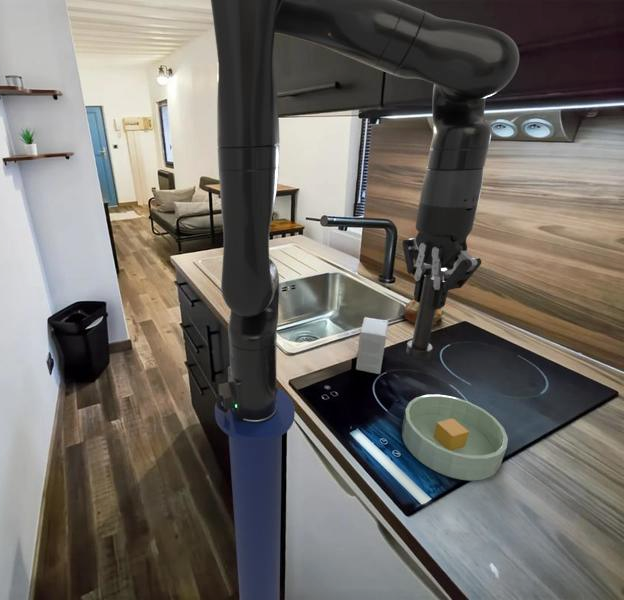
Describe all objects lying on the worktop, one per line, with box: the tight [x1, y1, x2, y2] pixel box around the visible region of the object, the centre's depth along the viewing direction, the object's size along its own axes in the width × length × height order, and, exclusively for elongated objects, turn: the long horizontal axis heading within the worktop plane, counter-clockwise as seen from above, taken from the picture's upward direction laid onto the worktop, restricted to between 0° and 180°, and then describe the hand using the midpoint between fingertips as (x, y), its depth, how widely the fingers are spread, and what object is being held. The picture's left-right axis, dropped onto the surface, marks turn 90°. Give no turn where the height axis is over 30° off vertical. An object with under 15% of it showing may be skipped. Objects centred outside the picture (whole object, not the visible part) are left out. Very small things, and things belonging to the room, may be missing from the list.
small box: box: [355, 316, 389, 375], centre depth 87 cm, size 8×6×10 cm
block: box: [434, 418, 469, 451], centre depth 65 cm, size 4×4×4 cm
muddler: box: [405, 274, 436, 360], centre depth 62 cm, size 4×4×14 cm
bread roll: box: [403, 299, 445, 326], centre depth 107 cm, size 10×10×8 cm
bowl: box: [401, 394, 509, 482], centre depth 65 cm, size 15×15×5 cm
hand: (427, 304), depth 61 cm, fingers closed on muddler, 2 cm apart
